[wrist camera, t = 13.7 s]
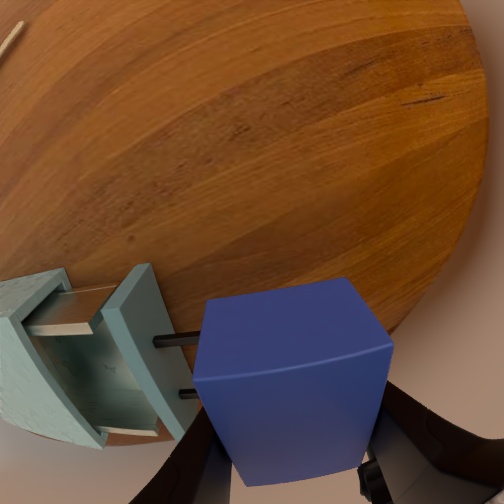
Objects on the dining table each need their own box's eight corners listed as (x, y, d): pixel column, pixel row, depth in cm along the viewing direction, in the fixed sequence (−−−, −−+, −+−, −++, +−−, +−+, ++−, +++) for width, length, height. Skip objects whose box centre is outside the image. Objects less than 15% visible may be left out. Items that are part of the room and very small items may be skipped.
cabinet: (64, 267, 19) (7, 317, 11) (125, 389, 24) (103, 450, 16) (-22, 286, 19) (-62, 320, 12) (30, 381, 24) (5, 422, 17)
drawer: (221, 249, 18) (214, 295, 12) (254, 384, 22) (258, 440, 17) (17, 287, 18) (-21, 320, 13) (74, 389, 23) (55, 428, 17)
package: (346, 275, 9) (396, 343, 5) (340, 405, 11) (360, 466, 8) (205, 298, 9) (190, 380, 5) (243, 422, 11) (245, 487, 8)
